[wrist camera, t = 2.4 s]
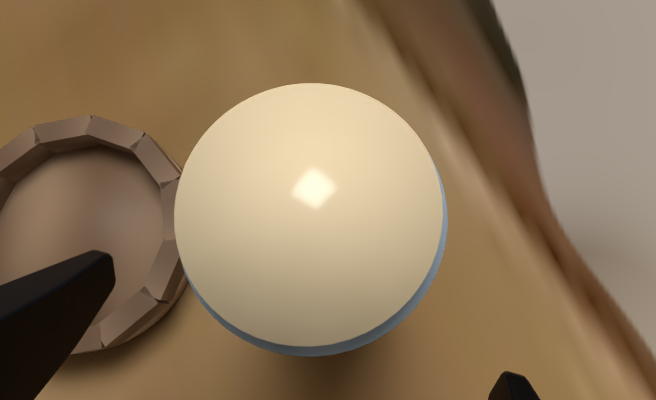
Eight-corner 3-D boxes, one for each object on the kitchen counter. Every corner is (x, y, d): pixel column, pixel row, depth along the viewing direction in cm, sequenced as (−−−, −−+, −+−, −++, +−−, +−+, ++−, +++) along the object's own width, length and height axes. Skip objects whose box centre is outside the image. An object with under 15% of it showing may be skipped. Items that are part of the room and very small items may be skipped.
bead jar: (289, 334, 18) (175, 387, 6) (273, 229, 20) (150, 99, 7) (396, 314, 18) (491, 329, 6) (374, 211, 20) (417, 50, 7)
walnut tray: (-16, 372, 19) (-59, 379, 17) (-13, 155, 21) (-50, 139, 19) (213, 329, 19) (197, 331, 17) (190, 117, 21) (174, 98, 19)
